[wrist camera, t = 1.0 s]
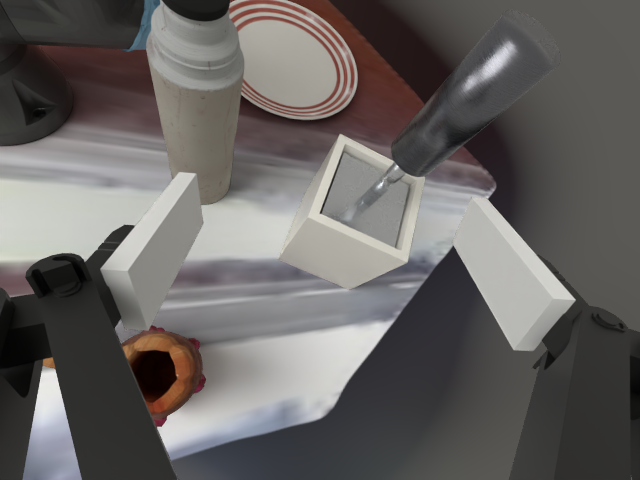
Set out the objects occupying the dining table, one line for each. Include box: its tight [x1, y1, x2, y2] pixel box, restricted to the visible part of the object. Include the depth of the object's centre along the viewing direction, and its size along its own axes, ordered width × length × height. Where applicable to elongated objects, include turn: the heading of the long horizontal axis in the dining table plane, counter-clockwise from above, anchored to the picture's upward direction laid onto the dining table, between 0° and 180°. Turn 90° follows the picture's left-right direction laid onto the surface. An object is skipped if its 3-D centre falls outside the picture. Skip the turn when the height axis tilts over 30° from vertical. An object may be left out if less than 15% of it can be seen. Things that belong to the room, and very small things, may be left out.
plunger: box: [320, 10, 561, 248], centre depth 28 cm, size 9×9×22 cm
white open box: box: [278, 134, 425, 290], centre depth 43 cm, size 12×12×16 cm
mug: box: [42, 325, 206, 427], centre depth 31 cm, size 15×8×15 cm, turn 73°
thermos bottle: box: [146, 0, 244, 204], centre depth 35 cm, size 8×8×28 cm
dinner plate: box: [229, 0, 358, 120], centre depth 59 cm, size 27×27×3 cm
